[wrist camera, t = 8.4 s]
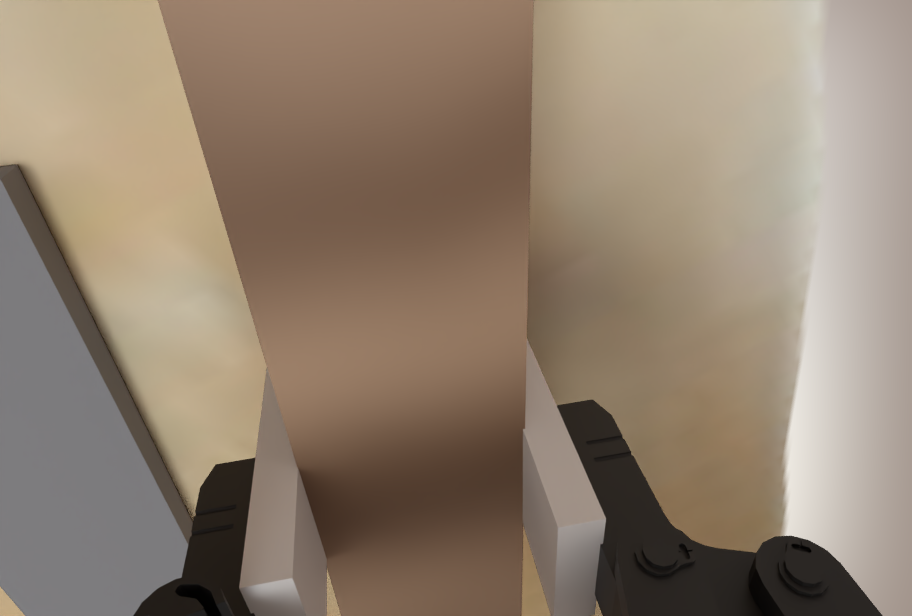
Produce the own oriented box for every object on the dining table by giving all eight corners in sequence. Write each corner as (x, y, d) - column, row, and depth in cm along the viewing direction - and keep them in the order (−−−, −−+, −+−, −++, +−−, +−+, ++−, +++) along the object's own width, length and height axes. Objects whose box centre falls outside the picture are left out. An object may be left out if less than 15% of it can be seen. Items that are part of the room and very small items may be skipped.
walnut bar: (483, 551, 22) (519, 708, 18) (367, 572, 21) (378, 738, 17) (452, -180, 10) (537, -217, 6) (195, -166, 10) (98, -195, 6)
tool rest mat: (250, 640, 30) (248, 661, 29) (98, 670, 29) (91, 692, 28) (17, 164, 16) (0, 179, 15) (-283, 199, 15) (-317, 216, 15)
